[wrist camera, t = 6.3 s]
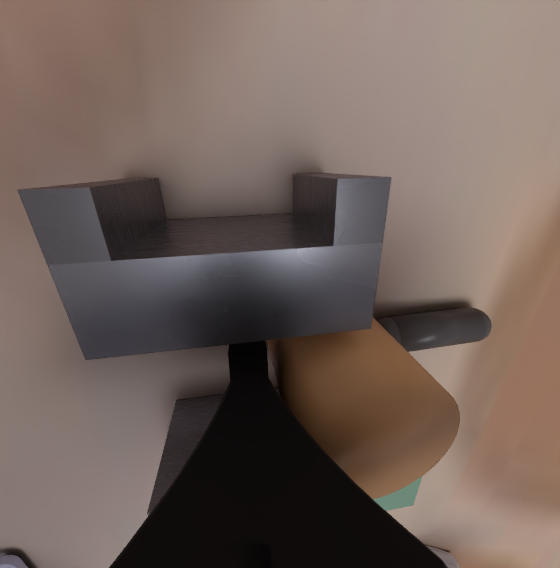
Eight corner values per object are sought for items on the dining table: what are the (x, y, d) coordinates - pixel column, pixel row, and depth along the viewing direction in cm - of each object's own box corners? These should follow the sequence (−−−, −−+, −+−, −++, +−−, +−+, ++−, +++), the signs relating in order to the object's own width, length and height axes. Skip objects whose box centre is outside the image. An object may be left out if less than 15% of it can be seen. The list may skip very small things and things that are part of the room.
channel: (188, 451, 12) (169, 568, 9) (121, 179, 8) (18, 190, 4) (313, 431, 13) (343, 532, 10) (324, 173, 8) (391, 177, 5)
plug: (268, 376, 11) (297, 517, 7) (264, 290, 10) (299, 399, 5) (455, 348, 13) (582, 448, 8) (479, 270, 11) (654, 340, 7)
